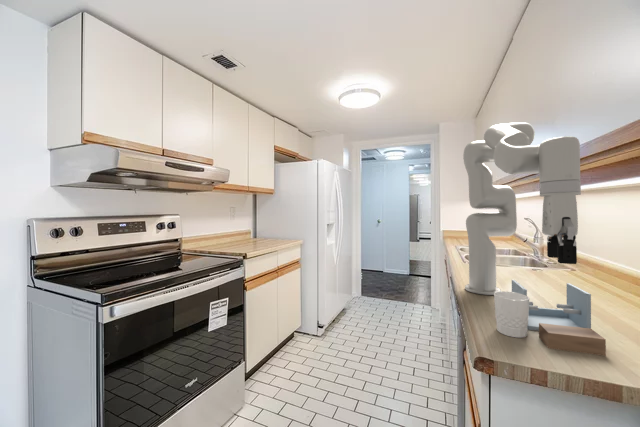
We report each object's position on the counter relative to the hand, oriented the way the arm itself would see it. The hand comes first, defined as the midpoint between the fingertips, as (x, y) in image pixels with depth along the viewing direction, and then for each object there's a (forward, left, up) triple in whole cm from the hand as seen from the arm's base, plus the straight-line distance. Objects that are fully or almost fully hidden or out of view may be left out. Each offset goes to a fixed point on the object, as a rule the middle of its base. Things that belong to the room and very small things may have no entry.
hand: (560, 260), depth 67 cm
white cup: (-5, -9, -21) cm, 23 cm away
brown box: (-1, +2, -21) cm, 21 cm away
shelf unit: (-14, +2, -21) cm, 25 cm away
